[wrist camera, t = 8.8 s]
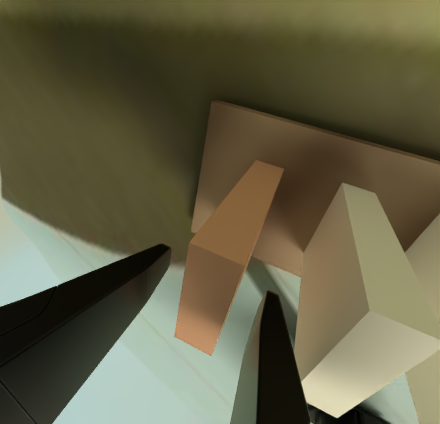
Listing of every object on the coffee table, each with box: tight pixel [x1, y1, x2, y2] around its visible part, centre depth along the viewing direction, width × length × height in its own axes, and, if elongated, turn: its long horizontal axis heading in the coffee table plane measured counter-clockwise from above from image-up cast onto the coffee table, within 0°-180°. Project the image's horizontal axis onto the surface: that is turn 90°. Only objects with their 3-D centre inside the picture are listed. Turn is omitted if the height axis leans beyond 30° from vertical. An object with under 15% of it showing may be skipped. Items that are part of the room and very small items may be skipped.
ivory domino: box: [294, 183, 440, 418], centre depth 10 cm, size 2×5×8 cm, turn 166°
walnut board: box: [191, 100, 440, 277], centre depth 12 cm, size 26×9×1 cm, turn 76°
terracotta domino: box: [174, 160, 284, 356], centre depth 11 cm, size 2×5×8 cm, turn 166°
